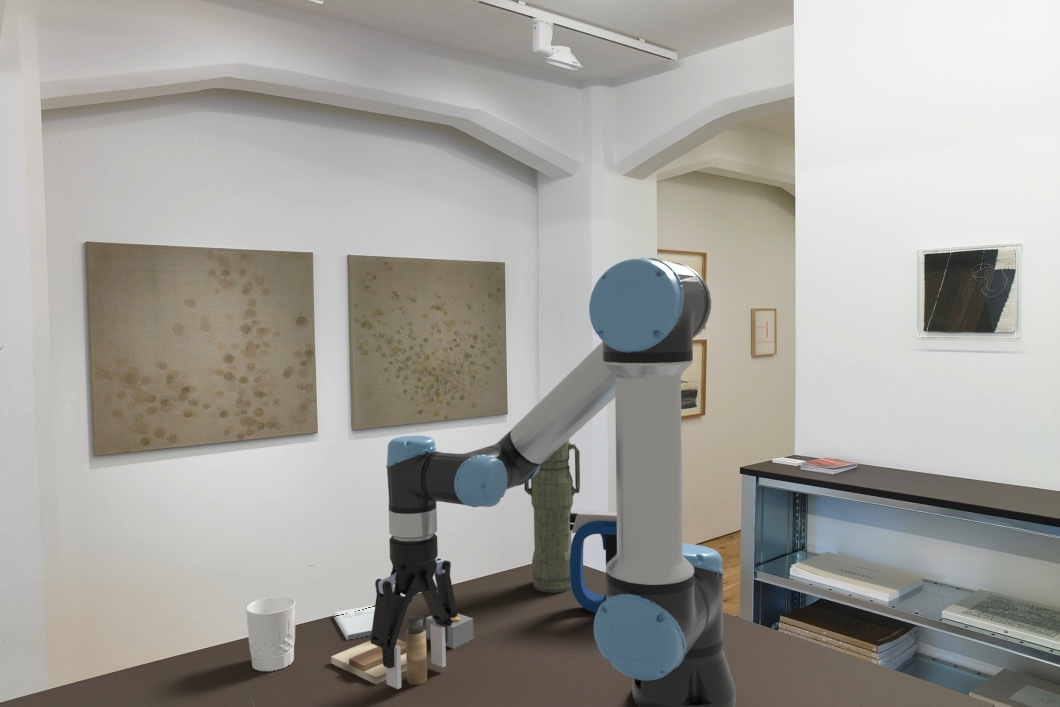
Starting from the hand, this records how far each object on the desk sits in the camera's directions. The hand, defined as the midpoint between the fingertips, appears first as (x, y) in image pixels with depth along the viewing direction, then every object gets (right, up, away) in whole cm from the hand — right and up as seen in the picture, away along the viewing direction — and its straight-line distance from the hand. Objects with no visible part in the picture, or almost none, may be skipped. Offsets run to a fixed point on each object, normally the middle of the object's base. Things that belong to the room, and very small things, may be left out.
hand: (416, 674), depth 124 cm
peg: (0, -1, 0) cm, 1 cm away
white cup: (-25, -1, +7) cm, 26 cm away
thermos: (+23, +1, +42) cm, 48 cm away
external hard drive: (-14, -1, +23) cm, 27 cm away
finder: (+4, 0, +16) cm, 16 cm away
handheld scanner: (+34, +1, +27) cm, 44 cm away
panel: (-8, -1, +7) cm, 10 cm away
